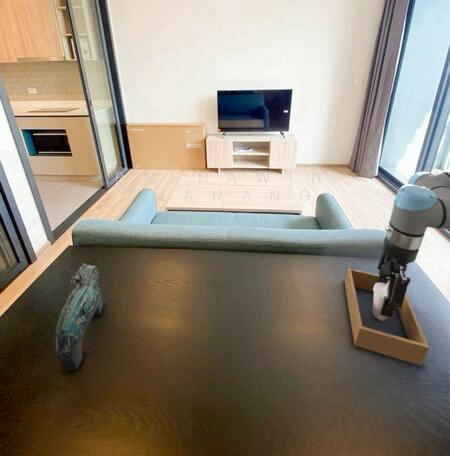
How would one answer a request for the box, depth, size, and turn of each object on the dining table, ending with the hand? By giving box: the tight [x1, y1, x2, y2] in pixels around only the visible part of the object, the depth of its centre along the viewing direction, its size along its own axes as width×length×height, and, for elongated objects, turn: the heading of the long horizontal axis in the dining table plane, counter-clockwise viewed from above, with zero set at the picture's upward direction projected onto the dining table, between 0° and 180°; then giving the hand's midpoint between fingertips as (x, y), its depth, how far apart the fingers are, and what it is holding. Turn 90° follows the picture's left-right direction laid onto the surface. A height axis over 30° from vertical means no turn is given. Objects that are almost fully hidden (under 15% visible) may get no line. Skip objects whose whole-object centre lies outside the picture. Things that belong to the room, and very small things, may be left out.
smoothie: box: [372, 281, 389, 322], centre depth 72 cm, size 6×6×14 cm
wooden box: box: [344, 267, 430, 367], centre depth 73 cm, size 16×22×7 cm
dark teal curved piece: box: [54, 262, 104, 371], centre depth 67 cm, size 20×6×20 cm, turn 5°
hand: (382, 304), depth 73 cm, fingers closed on smoothie, 6 cm apart
